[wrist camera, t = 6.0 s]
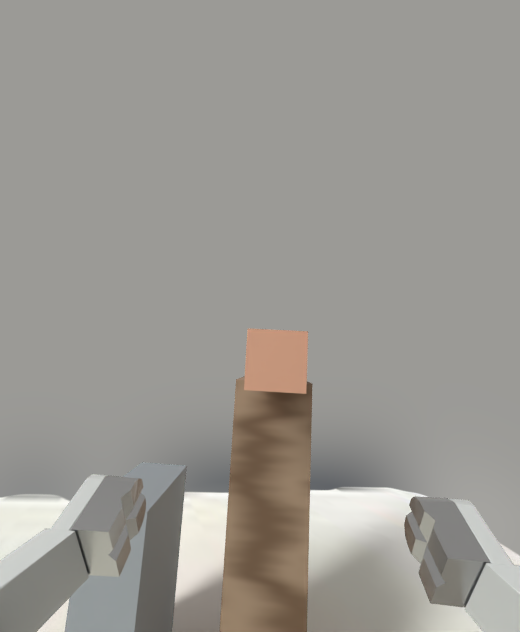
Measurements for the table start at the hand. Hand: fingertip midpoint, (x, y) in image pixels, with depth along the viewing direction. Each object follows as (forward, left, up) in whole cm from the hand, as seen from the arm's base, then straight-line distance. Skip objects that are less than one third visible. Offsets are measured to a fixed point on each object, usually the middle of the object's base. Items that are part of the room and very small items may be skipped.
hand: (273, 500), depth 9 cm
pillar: (0, -19, -23) cm, 30 cm away
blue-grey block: (+11, -19, -23) cm, 32 cm away
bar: (0, -16, +3) cm, 16 cm away
